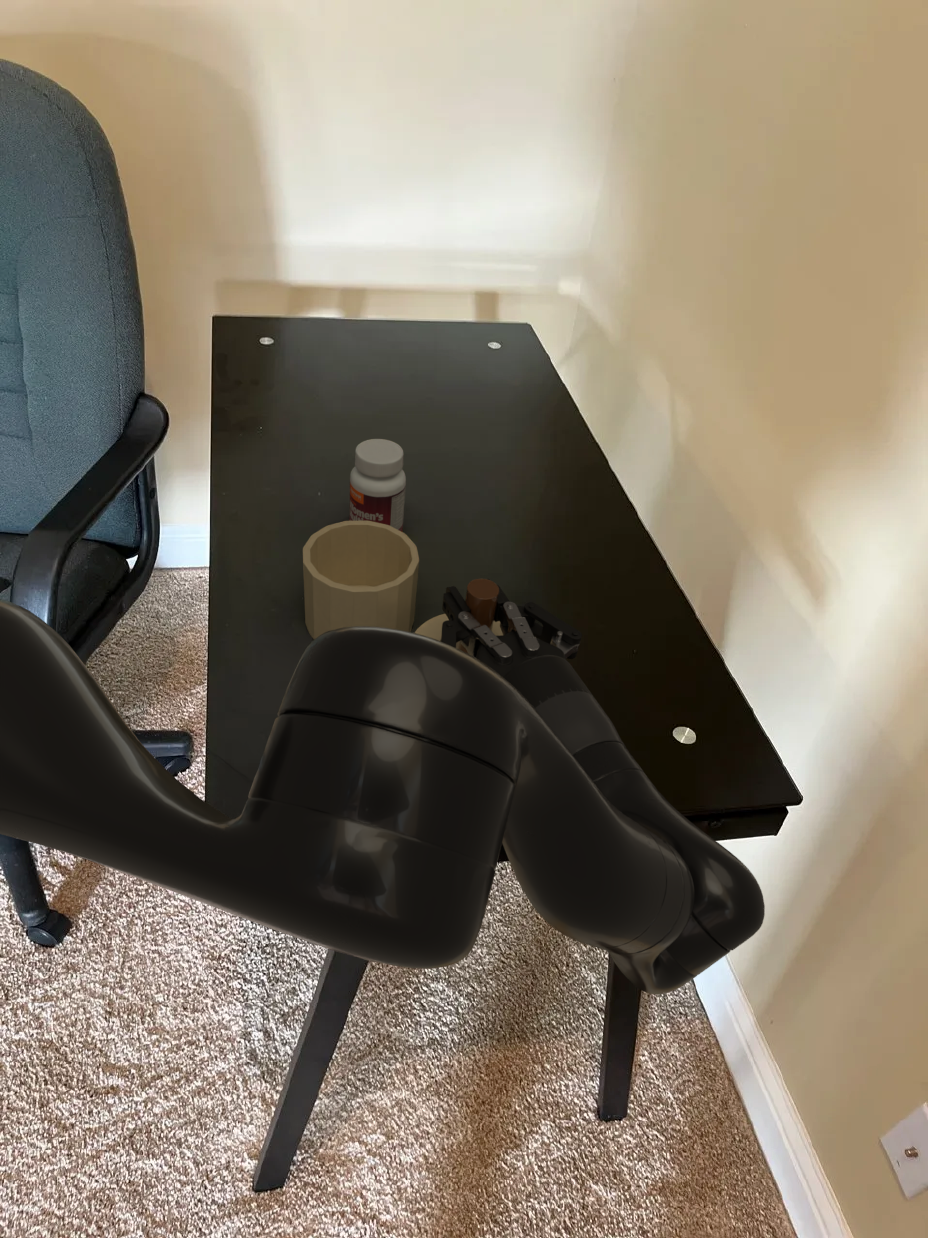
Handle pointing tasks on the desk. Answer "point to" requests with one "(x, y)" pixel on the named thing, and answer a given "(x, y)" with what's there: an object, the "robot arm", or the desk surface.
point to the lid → (482, 608)
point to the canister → (359, 577)
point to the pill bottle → (378, 483)
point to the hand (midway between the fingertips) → (466, 590)
